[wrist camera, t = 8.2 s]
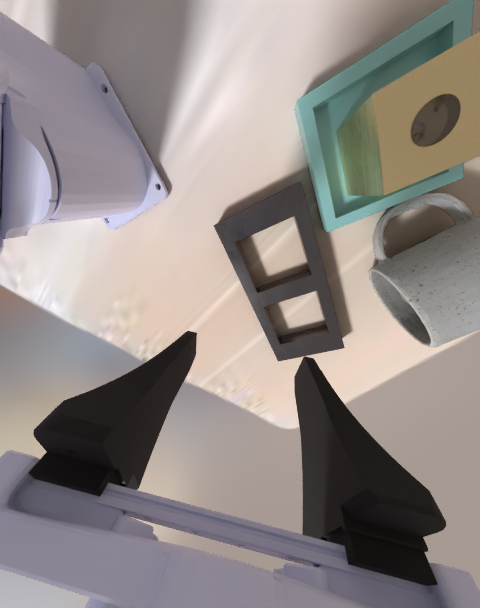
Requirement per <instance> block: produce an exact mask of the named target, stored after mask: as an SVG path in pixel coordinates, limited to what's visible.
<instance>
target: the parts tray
mask: <svg viewBox="0 0 480 608" xmlns="http://www.w3.org/2000/svg"><path fill="white" fill-rule="evenodd" d="M473 1H474V0H451V1H449V2H448V3H446V4H445V5H443V6H442V7H440V8H439V9H437V10H435V11H434V12H432V13H431V14H429V15H428V16H426V17H425V18H423V19H422V20H420V21H419V22H417V23H415V24H414V25H412V26H411V27H409V28H408V29H406V30H405V31H403V32H402V33H400V34H399V35H397V36H395V37H394V38H392V39H391V40H389V41H388V42H386V43H385V44H383V45H382V46H380V47H379V48H377V49H375V50H374V51H372V52H371V53H369V54H368V55H366V56H365V57H363V58H362V59H360V60H358V61H357V62H355V63H354V64H352V65H351V66H349V67H348V68H346V69H345V70H343V71H342V72H340V73H338V74H337V75H335V76H334V77H332V78H331V79H329V80H328V81H326V82H325V83H323V84H322V85H320V86H318V87H317V88H315V89H314V90H312V91H311V92H309V93H308V94H306V95H305V96H303V97H301V98H300V99H298V100H297V103H296V107H295V113H296V117H297V121H298V126H299V130H300V134H301V138H302V142H303V146H304V151H305V155H306V159H307V163H308V167H309V171H310V176H311V180H312V184H313V188H314V192H315V197H316V201H317V205H318V209H319V213H320V217H321V222H322V226H323V229H324V230H325V231H327V232H329V231H332V230H334V229H337V228H339V227H342V226H344V225H347V224H349V223H352V222H354V221H357V220H359V219H362V218H364V217H367V216H369V215H372V214H375V213H377V212H380V211H382V210H385V209H387V208H390V207H392V206H395V205H397V204H400V203H402V202H405V201H407V200H410V199H412V198H415V197H417V196H420V195H422V194H425V193H427V192H430V191H432V190H435V189H437V188H440V187H442V186H445V185H447V184H450V183H452V182H455V181H457V180H460V179H462V178H463V168H464V162H463V163H461V164H458V165H456V166H454V167H451V168H449V169H446V170H444V171H442V172H439V173H437V174H435V175H432V176H430V177H427V178H425V179H423V180H420V181H418V182H416V183H413V184H411V185H408V186H406V187H404V188H401V189H399V190H396V191H394V192H392V193H389V194H387V195H385V196H347V191H346V186H345V180H344V174H343V168H342V163H341V157H340V151H339V145H338V140H337V134H336V131H337V130H338V129H339V128H340V127H341V126H342V125H343V124H344V123H345V122H346V121H347V120H348V119H349V118H350V117H351V116H352V115H353V114H354V113H355V112H356V111H357V110H358V109H359V108H360V107H361V106H362V105H363V104H364V103H365V102H366V101H367V100H368V98H369V97H370V96H371V95H372V94H373V93H375V92H376V91H378V90H380V89H381V88H383V87H385V86H387V85H388V84H390V83H392V82H393V81H395V80H397V79H399V78H400V77H402V76H404V75H405V74H407V73H409V72H411V71H412V70H414V69H416V68H417V67H419V66H421V65H422V64H424V63H426V62H428V61H429V60H431V59H433V58H434V57H436V56H438V55H440V54H441V53H443V52H445V51H446V50H448V49H450V48H452V47H453V46H455V45H457V44H458V43H460V42H462V41H464V40H465V39H467V38H469V37H470V36H471V34H472V17H473Z"/></svg>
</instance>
